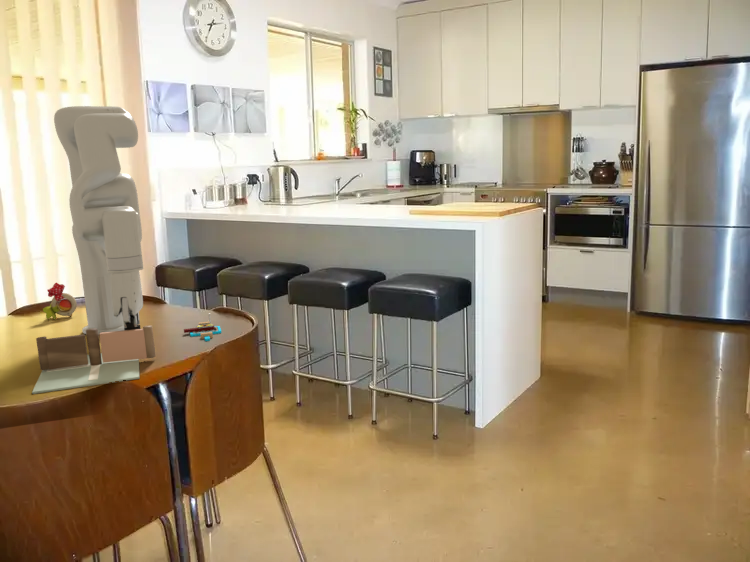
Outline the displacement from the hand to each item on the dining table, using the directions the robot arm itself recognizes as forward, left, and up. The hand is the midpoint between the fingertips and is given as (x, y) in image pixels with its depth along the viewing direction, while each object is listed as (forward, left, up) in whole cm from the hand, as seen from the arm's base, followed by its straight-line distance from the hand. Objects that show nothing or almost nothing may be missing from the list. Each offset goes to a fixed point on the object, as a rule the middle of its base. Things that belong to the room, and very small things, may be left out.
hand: (134, 342), depth 153 cm
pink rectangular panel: (+3, -1, -3) cm, 4 cm away
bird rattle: (-63, -21, -4) cm, 67 cm away
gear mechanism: (-18, +17, -5) cm, 25 cm away
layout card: (+4, -9, -4) cm, 11 cm away
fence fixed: (+2, -13, -3) cm, 14 cm away
